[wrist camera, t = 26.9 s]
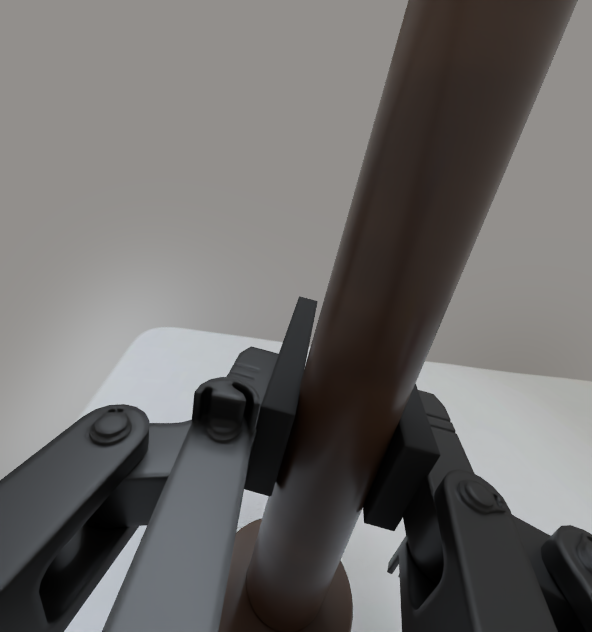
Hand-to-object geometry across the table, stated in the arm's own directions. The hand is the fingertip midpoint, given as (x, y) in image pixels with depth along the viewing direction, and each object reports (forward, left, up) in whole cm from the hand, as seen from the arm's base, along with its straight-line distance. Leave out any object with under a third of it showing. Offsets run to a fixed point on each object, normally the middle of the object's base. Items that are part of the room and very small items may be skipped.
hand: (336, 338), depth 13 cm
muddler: (0, -6, -7) cm, 9 cm away
